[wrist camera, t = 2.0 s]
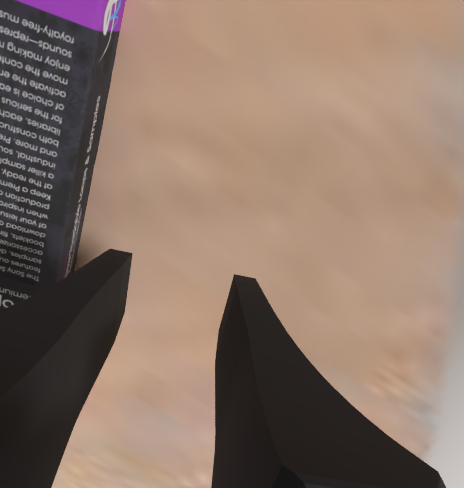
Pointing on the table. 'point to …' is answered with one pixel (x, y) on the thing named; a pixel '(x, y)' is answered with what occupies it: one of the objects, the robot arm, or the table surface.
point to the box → (49, 132)
